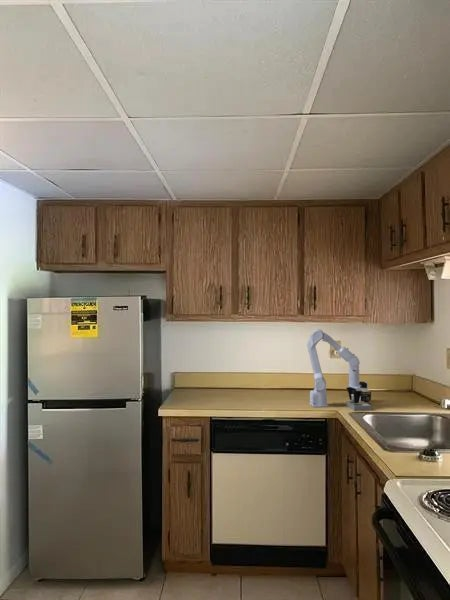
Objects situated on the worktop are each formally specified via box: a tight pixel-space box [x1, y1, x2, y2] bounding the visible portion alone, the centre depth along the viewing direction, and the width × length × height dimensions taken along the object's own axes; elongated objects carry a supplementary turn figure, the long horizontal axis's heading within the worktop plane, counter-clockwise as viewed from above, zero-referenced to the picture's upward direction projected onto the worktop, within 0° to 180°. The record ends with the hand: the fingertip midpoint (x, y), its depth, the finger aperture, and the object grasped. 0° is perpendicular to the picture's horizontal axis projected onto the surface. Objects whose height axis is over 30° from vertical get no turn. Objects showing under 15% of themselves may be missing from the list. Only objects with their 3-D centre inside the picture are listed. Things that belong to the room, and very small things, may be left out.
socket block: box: [345, 400, 373, 412], centre depth 276 cm, size 10×13×3 cm
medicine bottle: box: [359, 381, 372, 404], centre depth 293 cm, size 7×7×12 cm
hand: (354, 401), depth 279 cm, fingers open, 7 cm apart
